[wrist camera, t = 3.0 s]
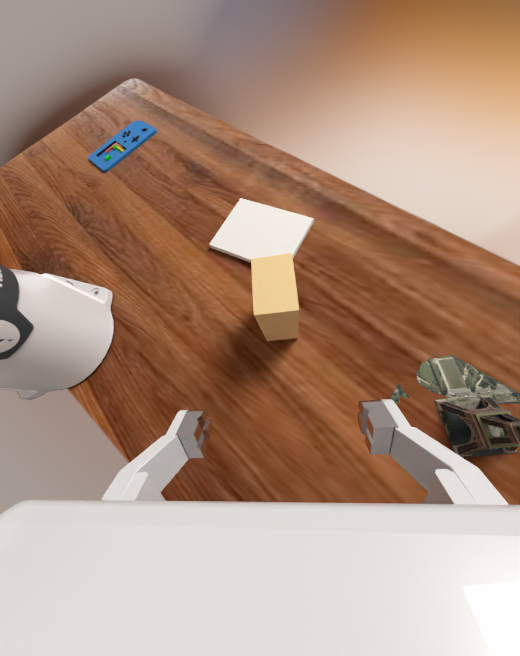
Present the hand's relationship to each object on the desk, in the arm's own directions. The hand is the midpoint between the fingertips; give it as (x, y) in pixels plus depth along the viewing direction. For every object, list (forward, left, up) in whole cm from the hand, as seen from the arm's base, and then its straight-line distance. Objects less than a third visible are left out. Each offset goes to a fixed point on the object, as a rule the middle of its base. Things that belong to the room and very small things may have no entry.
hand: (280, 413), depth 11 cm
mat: (-15, +20, -14) cm, 29 cm away
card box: (-6, +9, -14) cm, 18 cm away
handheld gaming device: (-57, +31, -14) cm, 66 cm away
